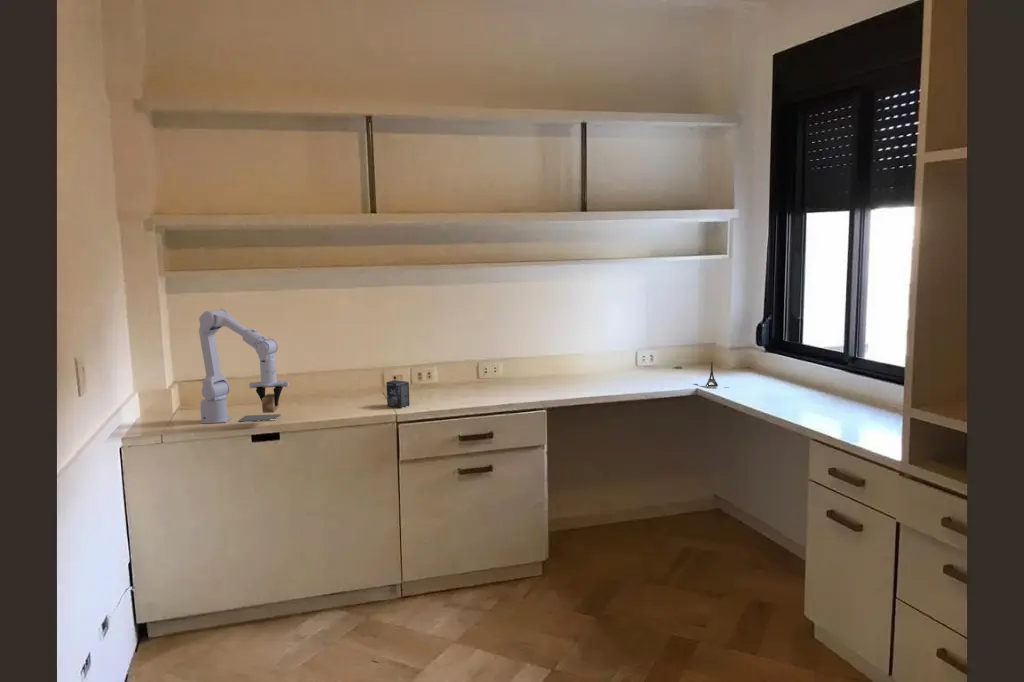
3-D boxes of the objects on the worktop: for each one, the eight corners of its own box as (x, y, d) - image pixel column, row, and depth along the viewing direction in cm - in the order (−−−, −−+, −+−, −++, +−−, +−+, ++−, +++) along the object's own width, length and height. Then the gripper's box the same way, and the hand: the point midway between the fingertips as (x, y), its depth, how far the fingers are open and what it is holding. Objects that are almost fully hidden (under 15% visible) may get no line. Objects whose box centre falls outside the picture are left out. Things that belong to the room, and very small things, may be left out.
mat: (239, 422, 299) (239, 420, 299) (245, 416, 308) (245, 415, 308) (275, 420, 300) (275, 419, 300) (280, 415, 309) (280, 414, 309)
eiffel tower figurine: (691, 385, 354) (691, 356, 352) (709, 383, 358) (710, 355, 356) (711, 390, 340) (711, 361, 338) (729, 388, 344) (730, 359, 342)
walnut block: (262, 412, 289) (261, 398, 288) (268, 407, 298) (267, 393, 297) (273, 412, 289) (272, 398, 288) (278, 407, 298) (277, 393, 297)
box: (387, 406, 321) (385, 382, 319) (396, 404, 325) (395, 379, 324) (401, 408, 316) (399, 383, 315) (410, 406, 321) (409, 381, 320)
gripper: (246, 373, 287) (248, 408, 289) (285, 372, 288) (287, 407, 290) (251, 370, 294) (253, 404, 296) (289, 369, 295) (291, 403, 297)
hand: (270, 405), depth 293 cm, fingers closed on walnut block, 4 cm apart
